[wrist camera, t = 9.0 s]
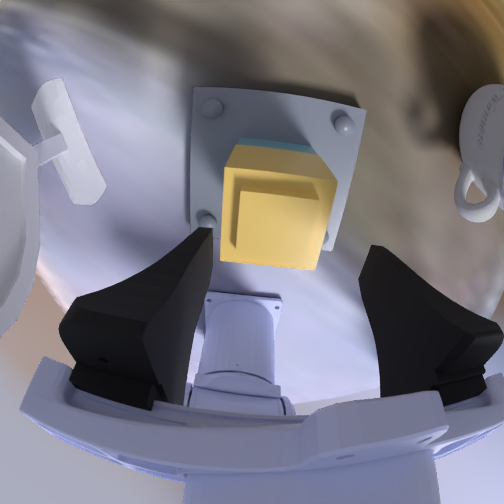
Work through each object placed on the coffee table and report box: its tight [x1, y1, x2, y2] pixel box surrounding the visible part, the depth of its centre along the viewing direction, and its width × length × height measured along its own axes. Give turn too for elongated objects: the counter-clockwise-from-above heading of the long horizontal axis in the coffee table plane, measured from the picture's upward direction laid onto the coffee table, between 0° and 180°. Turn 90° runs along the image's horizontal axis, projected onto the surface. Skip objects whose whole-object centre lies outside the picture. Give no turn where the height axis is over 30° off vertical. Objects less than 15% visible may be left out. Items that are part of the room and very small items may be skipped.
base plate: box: [190, 87, 366, 251], centre depth 18 cm, size 12×12×5 cm
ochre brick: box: [220, 144, 338, 270], centre depth 14 cm, size 5×5×5 cm
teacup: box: [454, 84, 504, 222], centre depth 13 cm, size 14×11×8 cm
